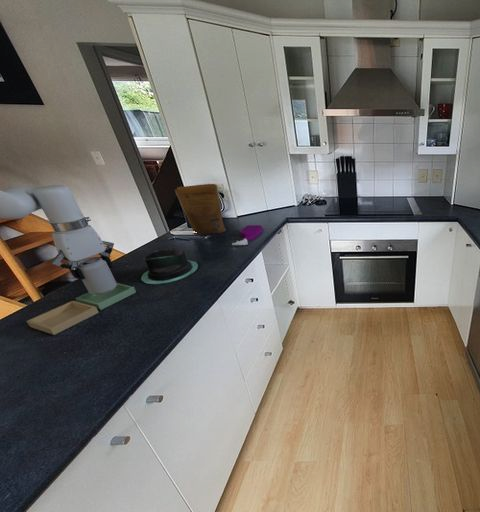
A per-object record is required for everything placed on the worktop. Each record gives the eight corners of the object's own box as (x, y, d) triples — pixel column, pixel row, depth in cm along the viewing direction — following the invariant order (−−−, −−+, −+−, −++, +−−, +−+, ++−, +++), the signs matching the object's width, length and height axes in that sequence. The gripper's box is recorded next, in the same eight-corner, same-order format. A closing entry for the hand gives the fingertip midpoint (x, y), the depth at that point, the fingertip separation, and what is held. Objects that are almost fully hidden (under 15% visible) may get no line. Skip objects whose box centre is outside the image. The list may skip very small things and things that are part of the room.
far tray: (78, 303, 96) (75, 298, 95) (115, 287, 106) (112, 281, 105) (100, 310, 93) (97, 304, 92) (136, 292, 103) (133, 286, 102)
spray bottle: (264, 229, 164) (251, 246, 142) (245, 229, 163) (229, 247, 141) (263, 224, 163) (250, 241, 141) (244, 225, 162) (228, 242, 140)
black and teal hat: (138, 288, 104) (136, 269, 117) (194, 293, 117) (187, 275, 131) (149, 252, 102) (147, 237, 116) (205, 261, 116) (197, 247, 129)
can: (84, 294, 96) (67, 264, 90) (108, 283, 102) (93, 254, 97) (100, 297, 94) (83, 267, 89) (123, 286, 101) (109, 257, 95)
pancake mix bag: (227, 233, 157) (215, 184, 145) (189, 237, 151) (173, 186, 138) (229, 229, 163) (217, 182, 150) (191, 233, 156) (176, 184, 144)
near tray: (30, 327, 85) (26, 321, 84) (76, 306, 95) (73, 300, 94) (54, 335, 82) (50, 328, 81) (99, 312, 92) (95, 306, 91)
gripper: (94, 215, 95) (116, 260, 103) (24, 233, 80) (55, 283, 88) (110, 218, 94) (130, 263, 101) (40, 236, 79) (70, 287, 86)
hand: (95, 272), depth 95 cm, fingers closed on can, 7 cm apart
